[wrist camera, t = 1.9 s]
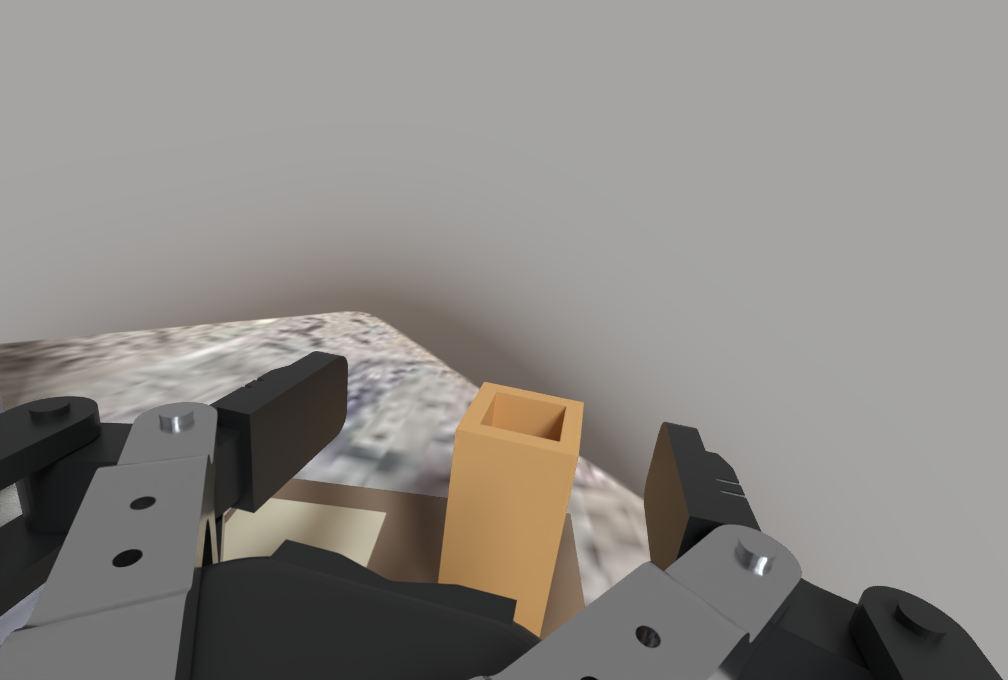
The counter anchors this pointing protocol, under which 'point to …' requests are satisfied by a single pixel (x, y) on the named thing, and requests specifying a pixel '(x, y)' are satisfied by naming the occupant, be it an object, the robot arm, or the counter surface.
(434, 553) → the post board
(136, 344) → the counter surface
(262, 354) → the counter surface
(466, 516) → the sleeve
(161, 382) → the counter surface
